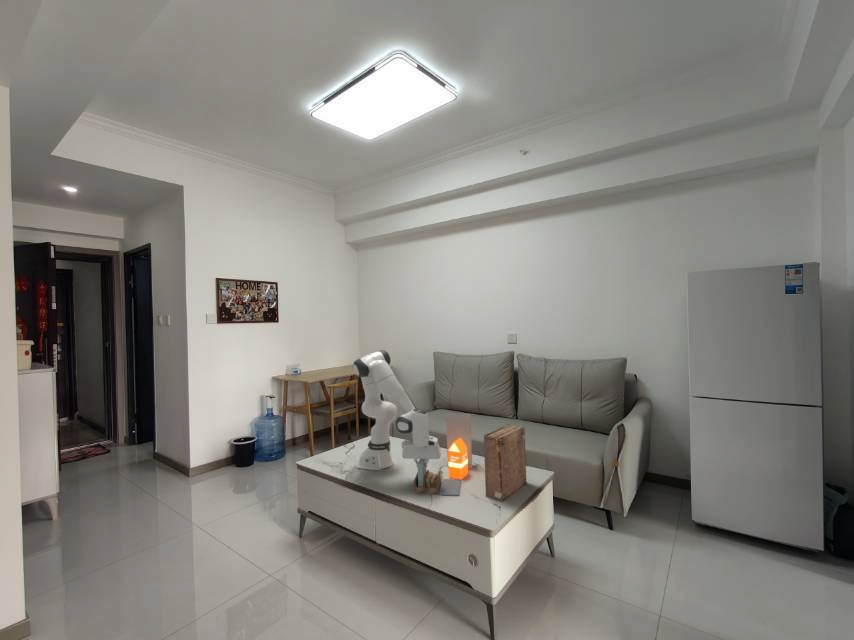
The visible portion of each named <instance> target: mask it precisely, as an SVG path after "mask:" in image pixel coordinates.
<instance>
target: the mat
mask: <svg viewBox="0 0 854 640" xmlns="http://www.w3.org/2000/svg"><path fill="white" fill-rule="evenodd" d="M461 485H462V479H456V478H451V479H450V478H449V479H448V478H443V479H442V480H441V483H440V487H439V491H438V496H440V495H441V496H442V497H443V496H444V497H459V496H460V493H461Z"/></svg>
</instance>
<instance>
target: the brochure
mask: <svg viewBox="0 0 854 640" xmlns="http://www.w3.org/2000/svg"><path fill="white" fill-rule="evenodd" d="M471 417H472V416H471V414H470V413H468V414H465V413H464V414H462V413H461V414H460V413H459V414H456V413H455V414H449V413H448V414H446V416H445V425H446V427H445V428H446V450H447V454H446V455H447V456H446V457H448V450H449V449H450V447H451V446H452V444H453V443H454V442H455V441H456V440H458V439H459V438H461V439H462V441H463V442H464V444H465V446H466V447H467V458H468V469H473V452H472V451H473V449H472V448H473V446H472V422H471ZM448 462H449V460H448V459H447V468H448V469H449V463H448Z"/></svg>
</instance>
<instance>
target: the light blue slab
mask: <svg viewBox="0 0 854 640" xmlns="http://www.w3.org/2000/svg"><path fill="white" fill-rule="evenodd" d="M426 462H427V461H426V459H419V460H418V467H417V472H418V487H423V480H424V477H425V474H426V472H427V467H424V463H426Z"/></svg>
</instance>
